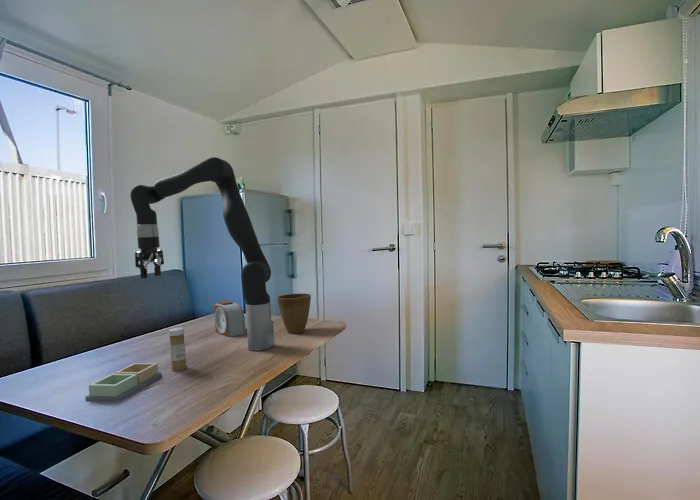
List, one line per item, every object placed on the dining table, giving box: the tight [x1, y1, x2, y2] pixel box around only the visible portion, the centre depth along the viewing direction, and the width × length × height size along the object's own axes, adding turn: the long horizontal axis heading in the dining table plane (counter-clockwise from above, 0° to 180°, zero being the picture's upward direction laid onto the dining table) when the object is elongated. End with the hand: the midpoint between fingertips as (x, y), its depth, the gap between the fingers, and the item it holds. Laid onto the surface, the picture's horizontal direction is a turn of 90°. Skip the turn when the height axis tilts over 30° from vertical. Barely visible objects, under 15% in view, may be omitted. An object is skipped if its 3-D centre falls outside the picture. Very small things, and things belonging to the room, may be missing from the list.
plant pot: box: [276, 292, 312, 335], centre depth 164 cm, size 15×15×16 cm
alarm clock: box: [213, 300, 247, 338], centre depth 168 cm, size 15×8×14 cm, turn 43°
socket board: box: [84, 362, 163, 402], centre depth 110 cm, size 10×18×4 cm, turn 171°
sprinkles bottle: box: [168, 326, 187, 371], centre depth 123 cm, size 5×5×13 cm
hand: (151, 277), depth 148 cm, fingers open, 8 cm apart
